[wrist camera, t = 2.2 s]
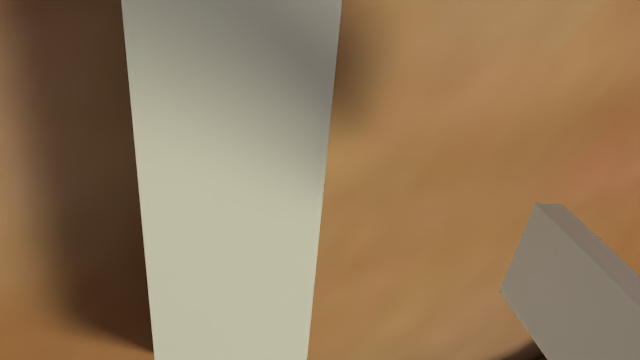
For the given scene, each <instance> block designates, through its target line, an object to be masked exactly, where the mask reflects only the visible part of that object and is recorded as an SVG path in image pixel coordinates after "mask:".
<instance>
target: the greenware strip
mask: <svg viewBox="0 0 640 360" xmlns="http://www.w3.org/2000/svg"><path fill="white" fill-rule="evenodd" d="M121 4H122V15H123V25H124V36H125V47H126V58H127V68H128V79H129V90H130V101H131V111H132V122H133V133H134V144H135V154H136V165H137V176H138V187H139V197H140V208H141V219H142V229H143V240H144V251H145V262H146V272H147V283H148V294H149V305H150V315H151V326H152V337H153V348H154V358H155V360H307V353H308V343H309V333H310V322H311V312H312V302H313V292H314V282H315V272H316V262H317V251H318V241H319V231H320V221H321V211H322V201H323V191H324V180H325V170H326V160H327V150H328V140H329V130H330V120H331V109H332V99H333V89H334V79H335V69H336V59H337V48H338V38H339V28H340V18H341V8H342V0H121Z"/></svg>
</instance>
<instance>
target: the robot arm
mask: <svg viewBox="0 0 640 360" xmlns="http://www.w3.org/2000/svg"><path fill="white" fill-rule="evenodd" d="M499 292H500V293H501V295H502V296H503V298H504V299H505V300H506V302H507V303H508V305H509V306H510V307H511V309H512V310H513V312H514V313H515V314H516V316H517V317H518V319H519V320H520V322H521V323H522V324H523V326H524V327H525V329H526V330H527V331H528V333H529V334H530V336H531V337H532V339H533V340H534V341H535V343H536V344H537V346H538V347H539V348H540V350H541V351H542V353H543V354H544V355H545V357H546V358H547V360H640V276H639V275H638V274H637V273H635V272H634V271H633V270H632V269H631V268H630V267H629V266H628V265H627V264H626V263H625V262H624V261H623V260H622V259H620V258H619V257H618V256H617V255H616V254H615V253H614V252H613V251H612V250H611V249H610V248H609V247H608V246H607V245H605V244H604V243H603V242H602V241H601V240H600V239H599V238H598V237H597V236H596V235H595V234H594V233H593V232H592V231H590V230H589V229H588V228H587V227H586V226H585V225H584V224H583V223H582V222H581V221H580V220H579V219H578V218H576V217H575V216H574V215H573V214H572V213H571V212H570V211H569V210H568V209H567V208H566V207H565V206H564V205H561V204H541V203H535V206H534V208H533V211H532V213H531V216H530V218H529V220H528V223H527V225H526V228H525V230H524V233H523V235H522V237H521V240H520V242H519V245H518V247H517V249H516V252H515V254H514V257H513V259H512V262H511V264H510V266H509V269H508V271H507V274H506V276H505V279H504V281H503V283H502V286H501V288H500V291H499Z"/></svg>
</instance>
